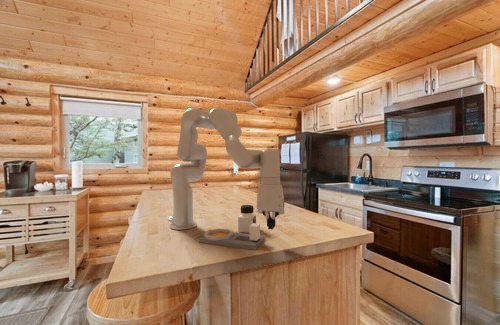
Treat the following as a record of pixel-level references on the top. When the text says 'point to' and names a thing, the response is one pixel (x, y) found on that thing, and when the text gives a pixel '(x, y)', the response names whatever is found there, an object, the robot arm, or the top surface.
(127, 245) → the top surface
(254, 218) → the medicine bottle
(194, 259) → the top surface
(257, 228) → the block
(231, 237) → the grey tray
